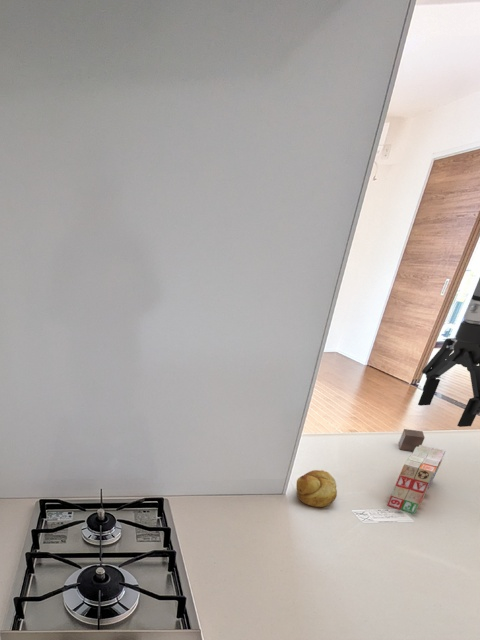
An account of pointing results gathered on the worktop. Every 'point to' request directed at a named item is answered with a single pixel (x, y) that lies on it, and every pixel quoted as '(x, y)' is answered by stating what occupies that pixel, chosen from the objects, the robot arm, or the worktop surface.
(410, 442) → the walnut block
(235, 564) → the worktop surface
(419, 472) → the stack of blocks
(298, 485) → the bread roll
